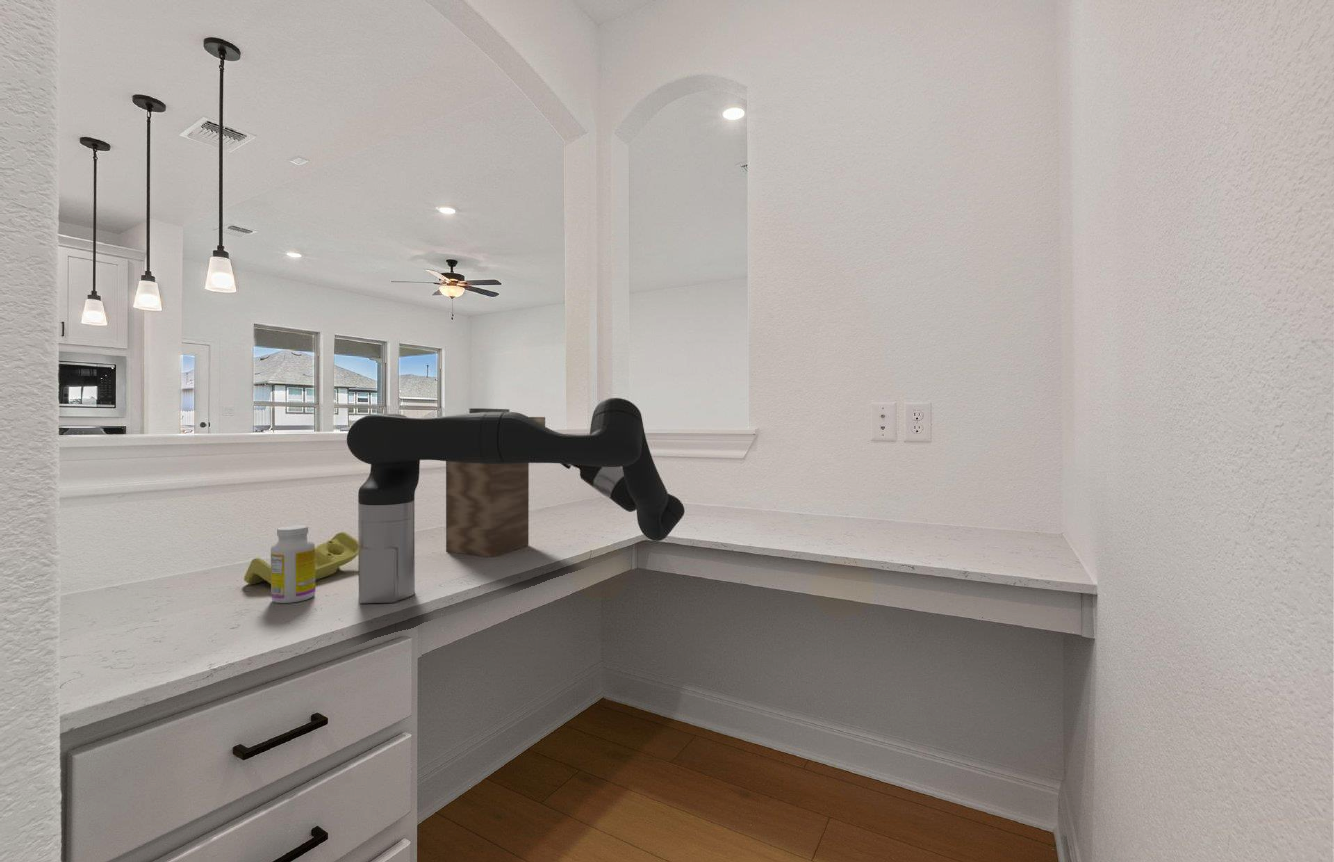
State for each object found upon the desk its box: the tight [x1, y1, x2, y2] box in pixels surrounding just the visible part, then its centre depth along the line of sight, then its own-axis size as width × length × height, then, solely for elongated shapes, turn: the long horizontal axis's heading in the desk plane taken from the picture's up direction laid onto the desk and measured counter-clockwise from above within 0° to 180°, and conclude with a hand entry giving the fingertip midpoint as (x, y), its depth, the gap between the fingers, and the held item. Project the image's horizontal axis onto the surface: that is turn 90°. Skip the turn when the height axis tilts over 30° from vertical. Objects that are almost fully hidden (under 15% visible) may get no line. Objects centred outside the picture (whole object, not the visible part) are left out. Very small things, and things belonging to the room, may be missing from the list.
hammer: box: [468, 407, 546, 427], centre depth 140 cm, size 18×10×5 cm, turn 67°
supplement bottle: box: [270, 524, 316, 604], centre depth 103 cm, size 7×7×13 cm
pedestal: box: [445, 461, 530, 558], centre depth 144 cm, size 14×14×30 cm
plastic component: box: [243, 531, 358, 585], centre depth 118 cm, size 20×7×10 cm
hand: (554, 438), depth 136 cm, fingers open, 8 cm apart
